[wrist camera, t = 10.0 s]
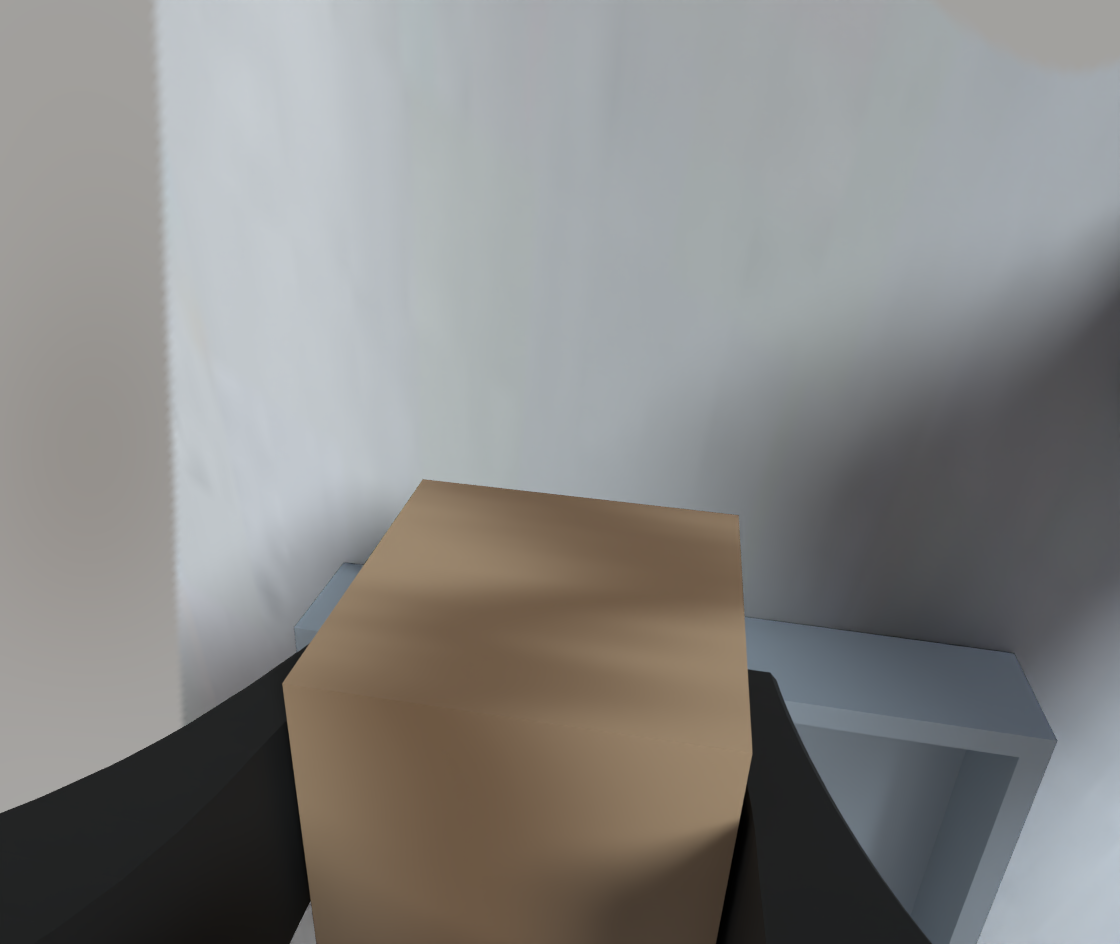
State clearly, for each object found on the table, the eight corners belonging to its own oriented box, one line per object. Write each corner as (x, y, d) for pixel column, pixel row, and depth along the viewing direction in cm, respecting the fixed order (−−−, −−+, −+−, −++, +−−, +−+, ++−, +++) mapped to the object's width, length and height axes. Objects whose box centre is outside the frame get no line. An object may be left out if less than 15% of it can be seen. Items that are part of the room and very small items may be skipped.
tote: (1014, 653, 21) (1057, 740, 18) (896, 992, 26) (915, 1097, 24) (344, 562, 23) (294, 627, 20) (370, 892, 29) (334, 976, 26)
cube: (738, 515, 13) (753, 752, 8) (700, 758, 15) (695, 1047, 11) (422, 478, 14) (281, 683, 9) (430, 717, 16) (320, 976, 11)
